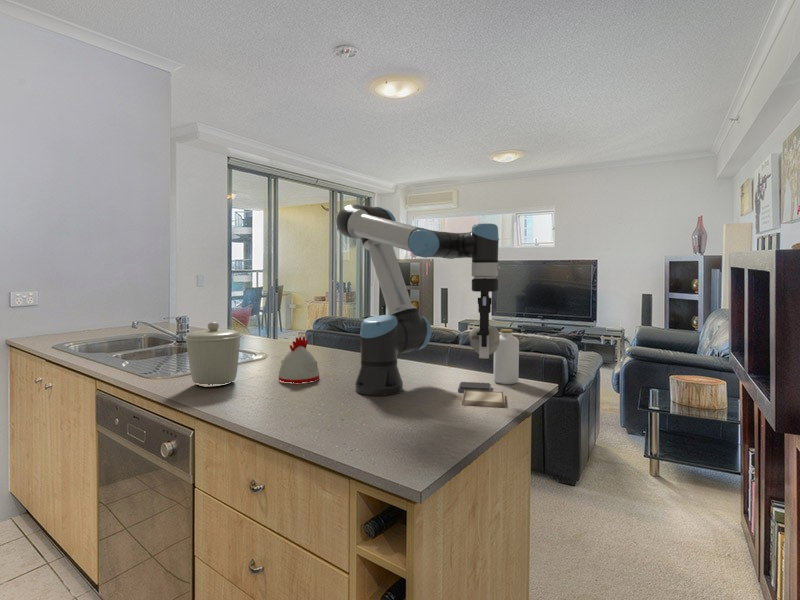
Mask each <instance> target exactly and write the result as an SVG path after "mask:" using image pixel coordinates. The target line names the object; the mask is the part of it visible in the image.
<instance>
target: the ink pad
mask: <svg viewBox="0 0 800 600" xmlns="http://www.w3.org/2000/svg"><path fill="white" fill-rule="evenodd" d="M491 386H492V384H490V382H476V381H475V382H474V381H473V382H472V381H461V382H459V385H458V387H457V392H458V393H464V390H473V391H492V388H491Z"/></svg>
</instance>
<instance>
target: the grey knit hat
mask: <svg viewBox="0 0 800 600" xmlns="http://www.w3.org/2000/svg"><path fill="white" fill-rule="evenodd" d="M308 341H309V339H306V337H305V336H302V337H301V336H299V337H295V341H294V340H293V341H292V345H291V344H290V345H289V348H290V350H289V351H288V352H287V353H286V354H285V355H284V357H283V359H282V360H281V361H280V362H281V363H280V364H281V365H280V368H279V371H278V381H279V380H281V381H284V382H292V383H293V382H294V383H302V382H310V381H315V380H317V379H319V380H320V371H319V367H318V361H317V360H316V359H315V358H316V357H315V356H314V355H313V354H312V353H311V351H310V350H309V349H307V346H308ZM315 382H316V381H315Z"/></svg>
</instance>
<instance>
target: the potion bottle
mask: <svg viewBox="0 0 800 600" xmlns="http://www.w3.org/2000/svg"><path fill="white" fill-rule="evenodd" d="M513 331H514V329H510V328H509V329H508V328H502V329H500V332H499V336H500V343H499V346H498V349H497V350H496V351H495V352H494V353H493V377H492V378H493V381H494V382H495V383H497V384H500V385H515V384H517V383H518V382H519V375H520V374H519V367H520V366H519V364H520V362H519V361H520V359H519V357H520V340H519V338H517V337H516V336H514V335H513V334H514V332H513Z"/></svg>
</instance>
